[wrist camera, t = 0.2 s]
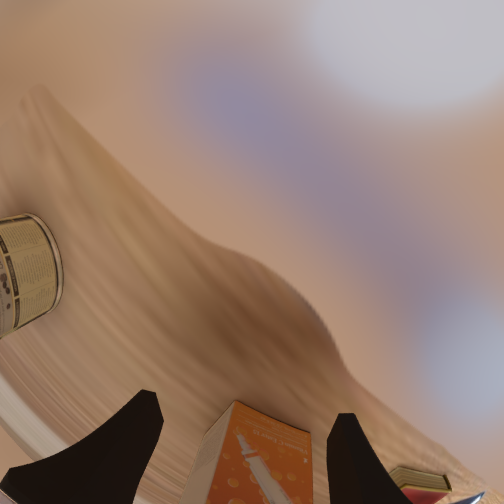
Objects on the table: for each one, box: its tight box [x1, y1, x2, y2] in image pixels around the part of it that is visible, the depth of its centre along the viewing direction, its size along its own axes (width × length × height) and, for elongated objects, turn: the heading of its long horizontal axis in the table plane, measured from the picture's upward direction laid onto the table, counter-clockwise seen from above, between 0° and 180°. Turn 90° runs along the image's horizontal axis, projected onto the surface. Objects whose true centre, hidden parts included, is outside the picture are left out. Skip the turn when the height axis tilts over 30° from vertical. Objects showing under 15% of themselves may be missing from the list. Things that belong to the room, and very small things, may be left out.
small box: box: [179, 400, 313, 504], centre depth 16 cm, size 8×6×13 cm
